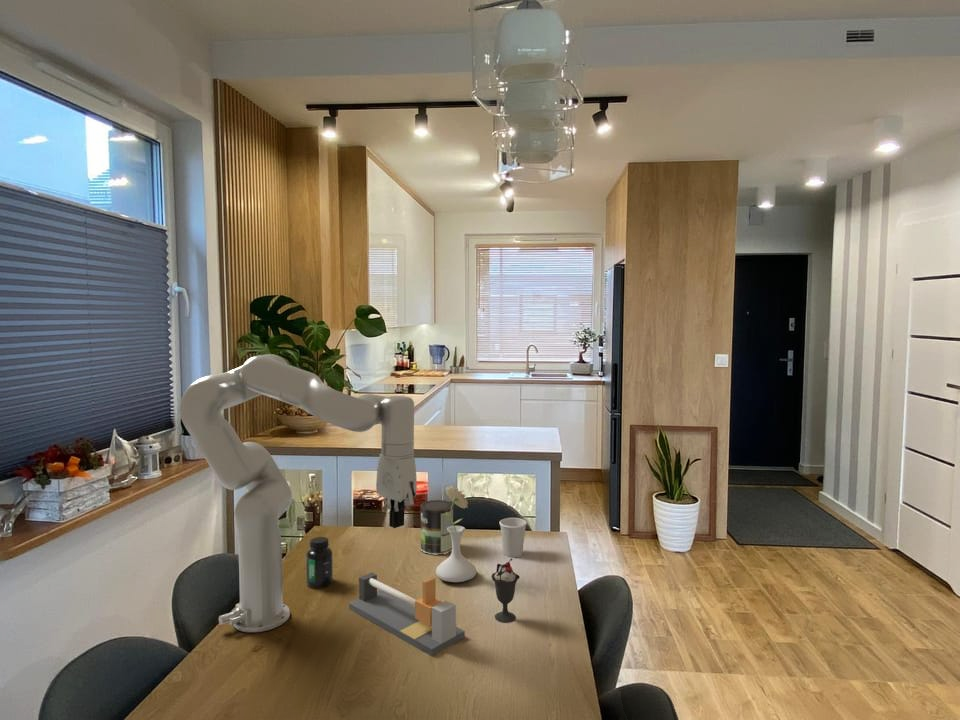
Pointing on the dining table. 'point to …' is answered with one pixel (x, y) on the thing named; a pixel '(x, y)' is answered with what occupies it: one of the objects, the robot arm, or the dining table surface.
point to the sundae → (505, 589)
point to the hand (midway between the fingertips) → (396, 525)
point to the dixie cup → (513, 536)
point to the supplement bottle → (319, 563)
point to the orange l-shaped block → (427, 602)
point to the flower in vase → (456, 546)
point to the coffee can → (436, 527)
